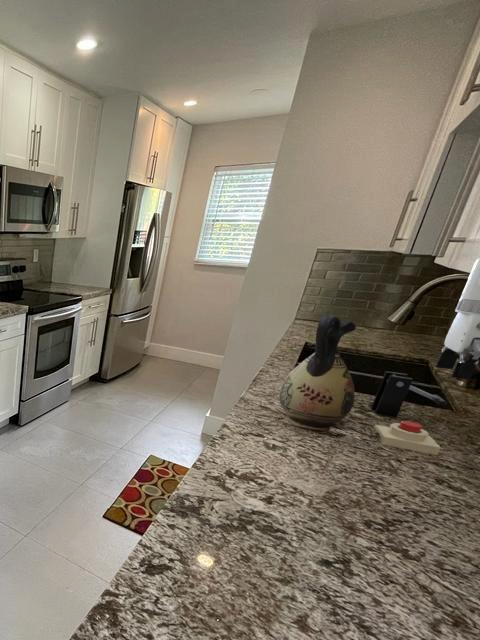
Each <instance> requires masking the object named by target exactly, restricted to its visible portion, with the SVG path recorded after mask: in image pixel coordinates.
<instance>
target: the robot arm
mask: <svg viewBox="0 0 480 640" xmlns="http://www.w3.org/2000/svg"><path fill="white" fill-rule="evenodd" d="M454 312H456V313H457V314H456V316H455V317H454V319H453V321H452V323H451V325H450V327H449V330H448V332H447V334H446V336H445V340H444V343H443V347H442V348H441V352H440V354H439V357H438V359H437V361H436V364H435V367H436V368H438V369H447V370H448V369H449V370H452V369H453V370H452V373H451V375H450V377H451V378H454V379H459V380H460V379H461V380H471V378H472V375H473V373H474V371H475V369H476V367H477V365H478V364H479V360H480V257H478V258H477V259H476V260H475V262H474V263H473V267H472V269H471V271H470V274H469V276H468V278H467V281H466V283H465V286H464V288H463V291H462V292H461V295H460V298H459V300H458V303H457V306H456V307H455V310H454ZM458 358H459V361H457V360H458Z"/></svg>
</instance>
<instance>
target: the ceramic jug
mask: <svg viewBox="0 0 480 640" xmlns="http://www.w3.org/2000/svg"><path fill="white" fill-rule="evenodd" d="M356 328H357V326H356V325H355V323H354V322H352V321H350V320H346V321H343V322H341V319H340V318H339V317H338V316H334V315H326V316H322V317H321V318H320V320H319V321H318V323H317V327H316V330H315V332H316V333H315V347H314V348H315V350H314V353H312V354H311V355H309V356H308V357H306V358H305V359H304V360H302V361H301V362H300V363H299V364H298V365H296V366H295V367H294V368H293V369H292V370H291V371H290V372H289V374H287V376H286V377H285V379H284V380H283V382H282V384H281V386H280V388H279V393H278V400H279V404H280V407H282V409H283V411H284V412H285V414H286V418H287V421H288V423H290V424H292V425H293V426H295V427H300V428H304V429H309V430H314V431H319V432H324V431H329V430H331V426H333V425H335V424H336V423H339V422H340V421H342V420H343V419H344V418H345V417H347V416H348V414H350V412H351V411H352V409H353V407H354V403H355V395H356V393H355V384H354V380H353V378H352V375H351V373H350V371H349V368H348V367H347V365H346V363H345V361H344V359H343V358H342V356H341V355H340V351H339V350H338V345H339V343H340V340H341V338H342V337H343V336H345V335H347V334H349V333H351V332H354V331H355V330H356ZM293 432H294V431H292V433H293Z"/></svg>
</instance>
